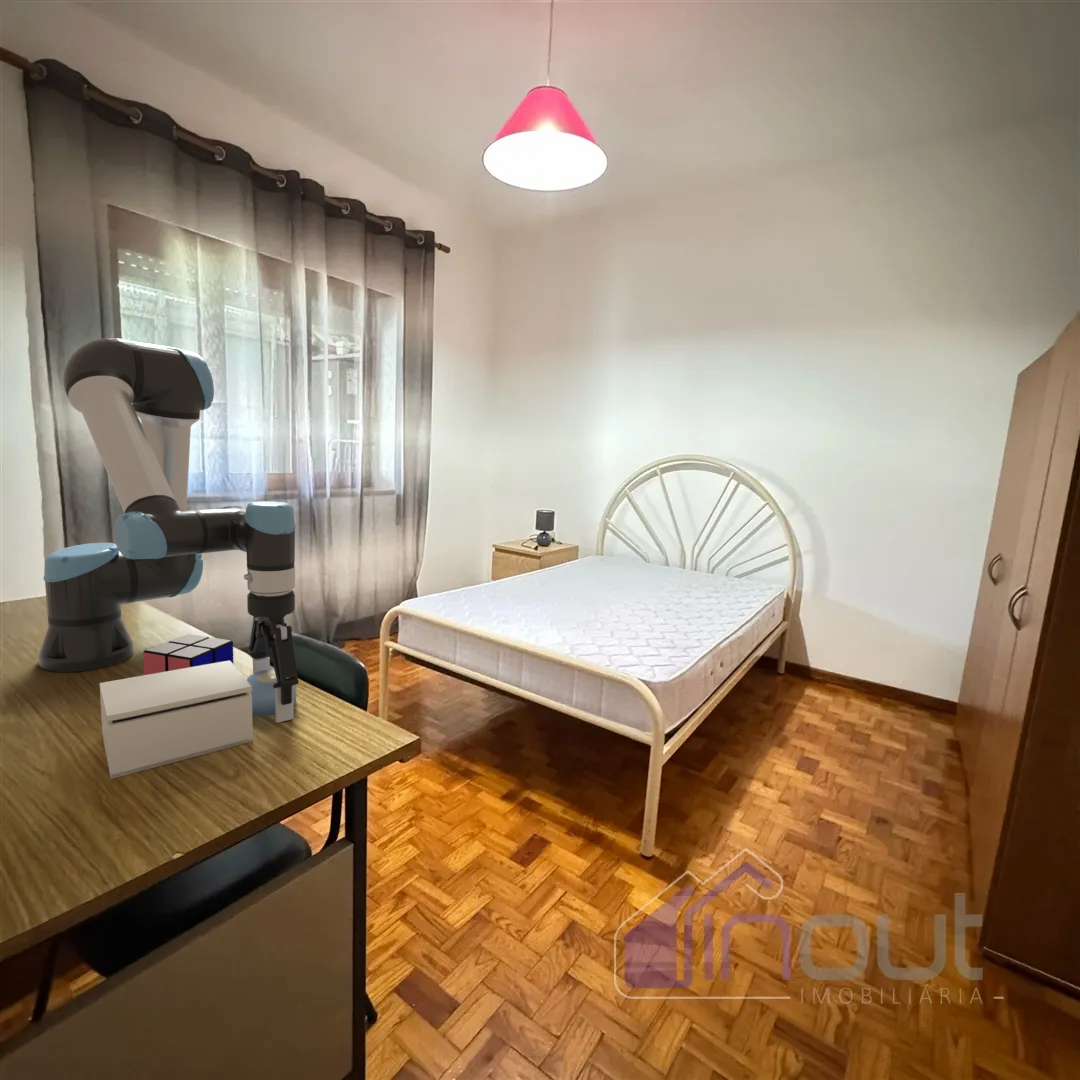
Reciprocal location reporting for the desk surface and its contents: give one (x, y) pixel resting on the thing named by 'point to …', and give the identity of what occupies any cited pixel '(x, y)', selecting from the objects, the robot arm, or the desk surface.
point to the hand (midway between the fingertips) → (272, 705)
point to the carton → (176, 733)
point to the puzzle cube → (187, 653)
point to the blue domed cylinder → (265, 692)
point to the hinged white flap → (171, 689)
